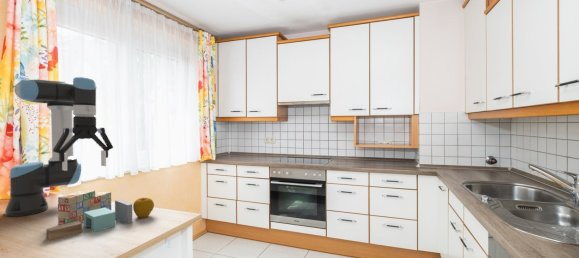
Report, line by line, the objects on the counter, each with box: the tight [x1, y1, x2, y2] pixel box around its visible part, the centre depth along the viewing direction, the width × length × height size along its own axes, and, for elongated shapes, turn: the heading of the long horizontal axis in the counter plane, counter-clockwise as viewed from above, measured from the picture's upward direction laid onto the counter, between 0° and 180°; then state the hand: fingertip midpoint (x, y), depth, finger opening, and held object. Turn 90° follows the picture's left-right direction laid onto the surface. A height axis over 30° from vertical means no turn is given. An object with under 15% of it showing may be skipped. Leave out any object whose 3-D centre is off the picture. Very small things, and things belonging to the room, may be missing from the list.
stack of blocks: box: [57, 189, 112, 226], centre depth 128 cm, size 21×6×12 cm, turn 169°
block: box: [83, 208, 116, 233], centre depth 118 cm, size 10×8×6 cm
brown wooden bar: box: [45, 221, 83, 242], centre depth 108 cm, size 4×10×4 cm, turn 146°
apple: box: [132, 197, 155, 219], centre depth 130 cm, size 8×8×9 cm
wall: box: [114, 199, 133, 224], centre depth 125 cm, size 12×2×8 cm, turn 55°
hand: (85, 167), depth 114 cm, fingers open, 13 cm apart
